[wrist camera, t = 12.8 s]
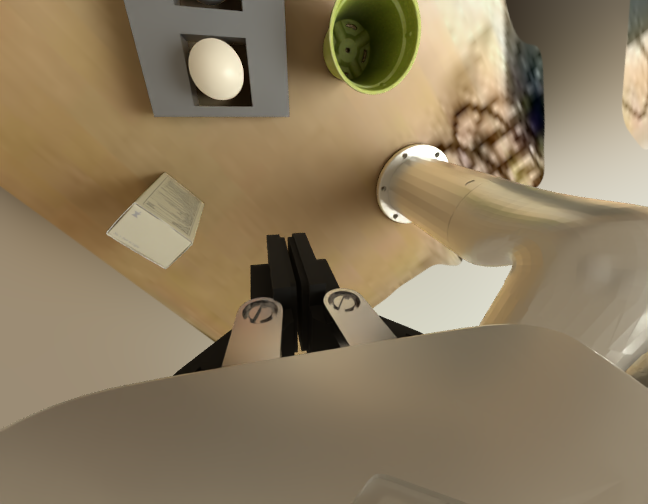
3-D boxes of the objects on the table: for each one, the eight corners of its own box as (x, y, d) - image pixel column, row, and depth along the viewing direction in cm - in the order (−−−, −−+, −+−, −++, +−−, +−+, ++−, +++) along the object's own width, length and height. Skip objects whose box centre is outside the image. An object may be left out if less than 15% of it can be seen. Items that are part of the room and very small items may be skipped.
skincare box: (143, 193, 34) (100, 233, 24) (166, 169, 34) (132, 199, 24) (186, 225, 38) (164, 271, 27) (208, 204, 37) (194, 243, 27)
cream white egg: (240, 47, 28) (239, 39, 24) (246, 100, 30) (246, 100, 27) (190, 45, 27) (182, 36, 23) (201, 99, 29) (194, 99, 26)
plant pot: (391, 12, 32) (435, -14, 25) (372, 102, 36) (405, 102, 29) (316, -12, 29) (340, -50, 22) (304, 87, 33) (321, 84, 26)
